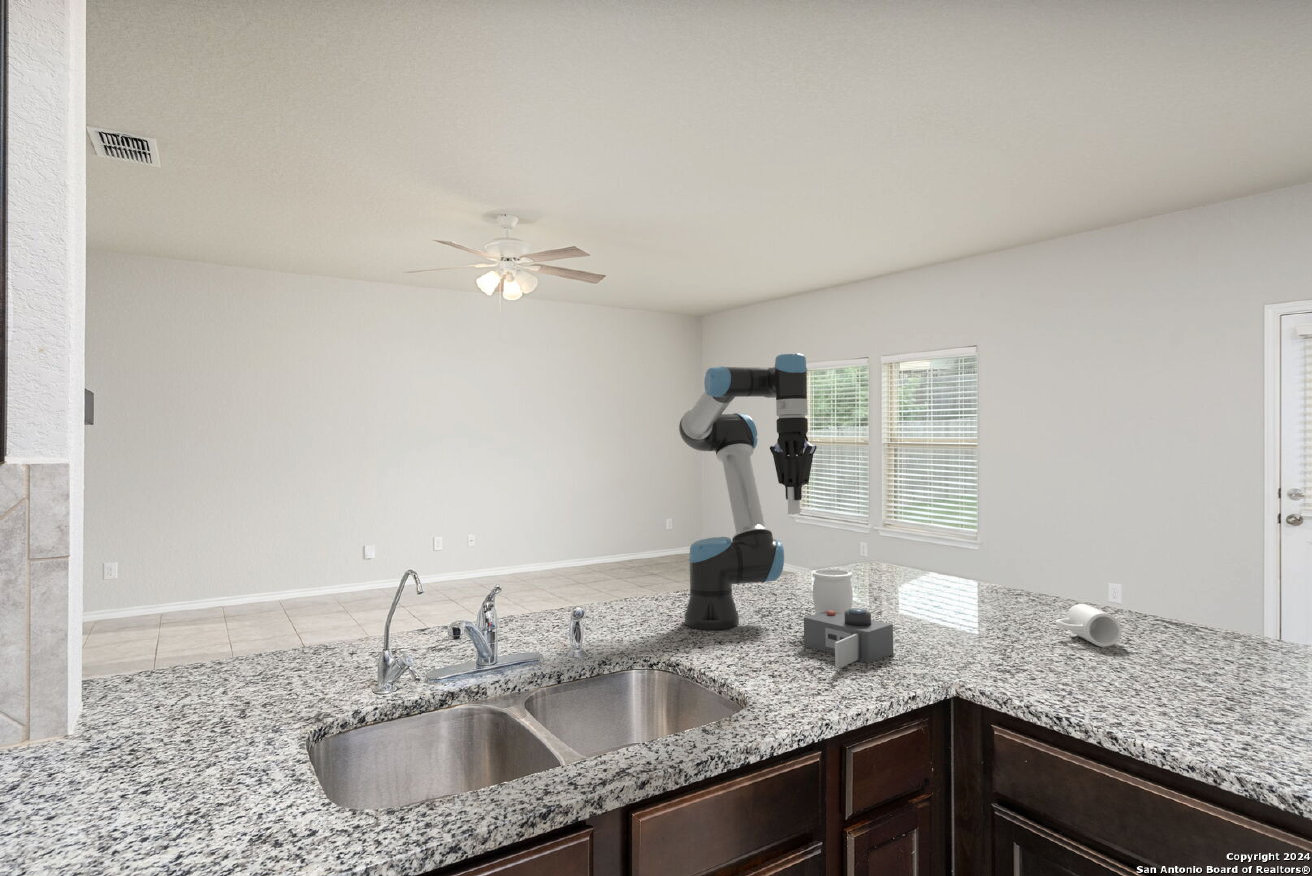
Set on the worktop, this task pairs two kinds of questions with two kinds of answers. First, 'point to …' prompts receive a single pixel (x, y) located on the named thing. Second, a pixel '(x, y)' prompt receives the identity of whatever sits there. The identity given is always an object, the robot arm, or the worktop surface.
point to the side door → (846, 651)
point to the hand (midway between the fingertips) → (794, 513)
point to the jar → (832, 590)
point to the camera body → (849, 633)
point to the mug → (1092, 625)
